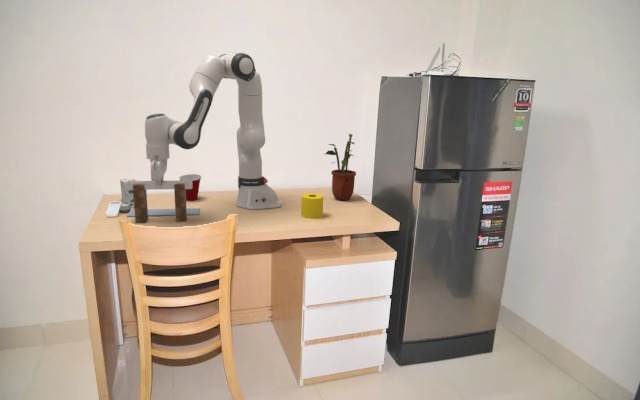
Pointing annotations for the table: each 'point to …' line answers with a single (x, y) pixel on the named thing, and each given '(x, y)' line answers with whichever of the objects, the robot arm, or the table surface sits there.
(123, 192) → the light bulb box
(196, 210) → the slate mat
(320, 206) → the yellow hollow cylinder
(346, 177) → the potted plant
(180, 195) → the hook posts
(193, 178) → the plastic cup
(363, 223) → the table surface
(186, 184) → the rail
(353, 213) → the table surface
